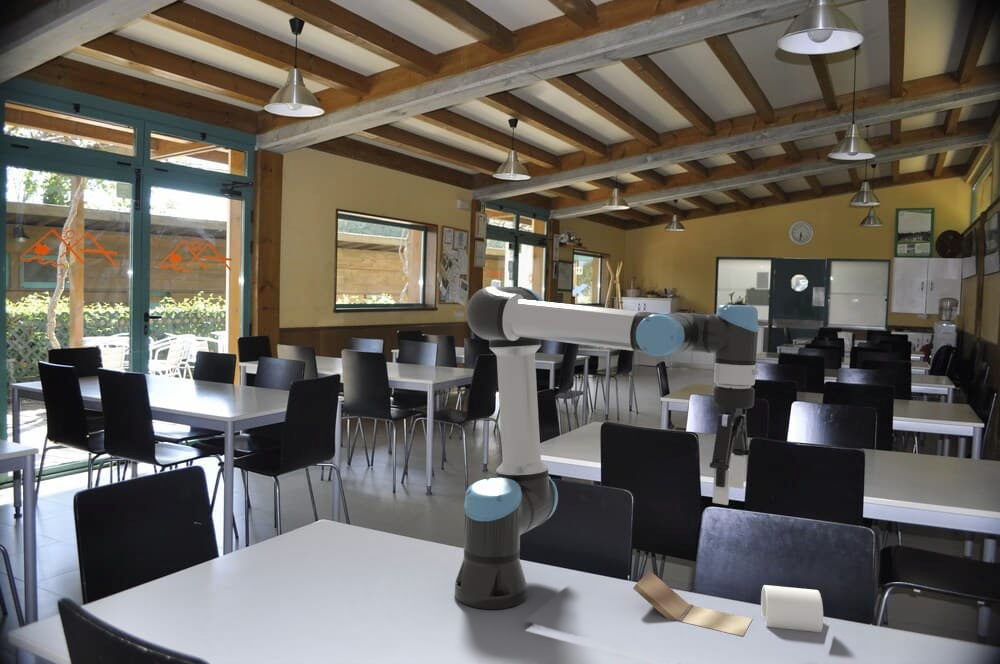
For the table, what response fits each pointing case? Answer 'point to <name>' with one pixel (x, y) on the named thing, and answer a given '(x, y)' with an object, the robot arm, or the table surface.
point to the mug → (792, 608)
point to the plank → (661, 596)
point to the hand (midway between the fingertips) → (728, 495)
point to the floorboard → (715, 620)
